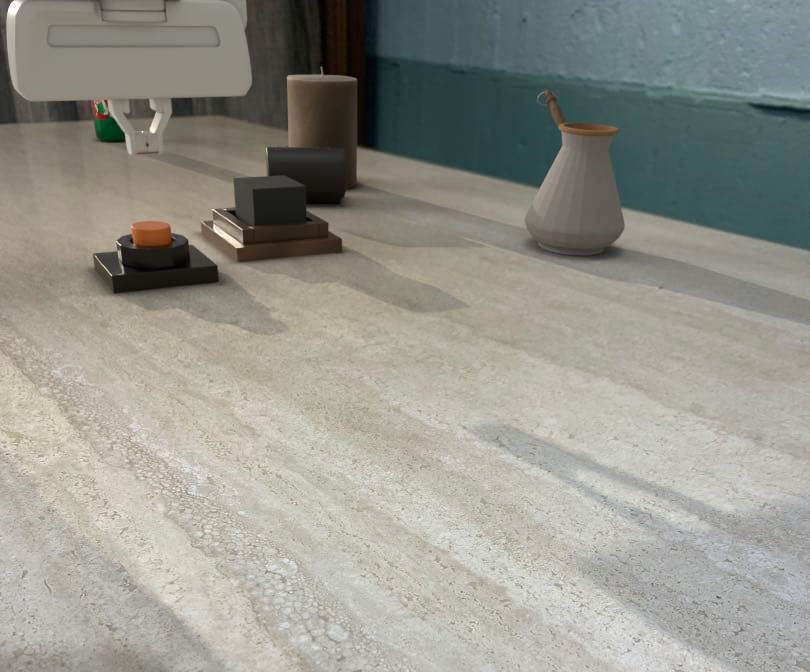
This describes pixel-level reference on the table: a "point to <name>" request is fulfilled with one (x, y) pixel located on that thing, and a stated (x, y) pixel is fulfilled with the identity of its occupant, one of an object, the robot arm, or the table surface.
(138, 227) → the button
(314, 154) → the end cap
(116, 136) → the soda can
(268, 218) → the black block
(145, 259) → the dark piece
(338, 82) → the pillar candle
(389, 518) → the table surface
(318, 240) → the tray
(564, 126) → the coffee pot
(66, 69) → the robot arm
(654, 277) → the table surface
